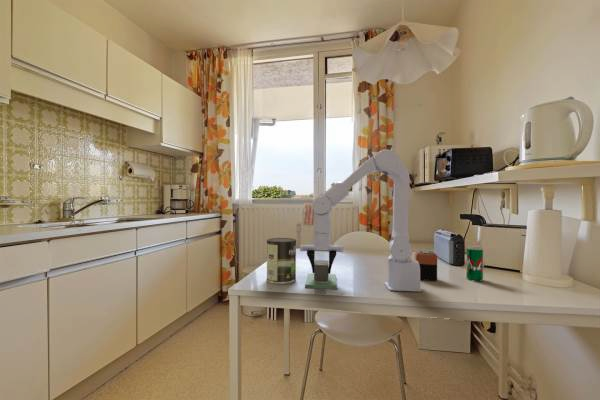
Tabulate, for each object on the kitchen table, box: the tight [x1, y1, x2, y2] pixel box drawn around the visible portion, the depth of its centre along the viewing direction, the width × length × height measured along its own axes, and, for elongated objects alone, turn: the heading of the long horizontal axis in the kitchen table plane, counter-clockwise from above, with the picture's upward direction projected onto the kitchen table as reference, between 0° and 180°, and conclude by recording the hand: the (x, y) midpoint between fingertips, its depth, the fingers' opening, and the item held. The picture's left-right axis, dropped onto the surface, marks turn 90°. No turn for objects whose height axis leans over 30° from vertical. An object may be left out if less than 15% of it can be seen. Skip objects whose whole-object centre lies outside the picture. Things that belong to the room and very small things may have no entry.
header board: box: [304, 273, 338, 290], centre depth 97 cm, size 10×14×4 cm
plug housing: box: [313, 259, 329, 281], centre depth 97 cm, size 5×8×5 cm, turn 174°
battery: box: [414, 250, 438, 282], centre depth 102 cm, size 4×7×10 cm, turn 74°
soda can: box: [465, 244, 484, 282], centre depth 102 cm, size 5×5×12 cm
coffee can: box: [266, 237, 297, 285], centre depth 100 cm, size 10×10×14 cm
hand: (321, 272), depth 97 cm, fingers closed on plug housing, 5 cm apart
